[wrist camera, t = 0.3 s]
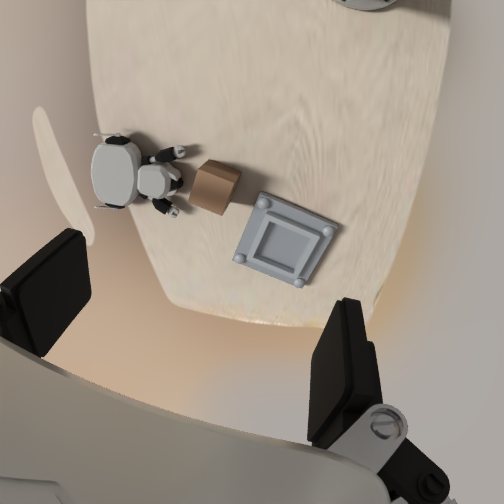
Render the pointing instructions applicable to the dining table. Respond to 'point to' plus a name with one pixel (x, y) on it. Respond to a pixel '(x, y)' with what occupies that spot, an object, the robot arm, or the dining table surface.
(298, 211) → the base plate
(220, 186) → the walnut cube
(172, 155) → the robot toy
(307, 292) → the dining table surface
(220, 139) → the dining table surface
